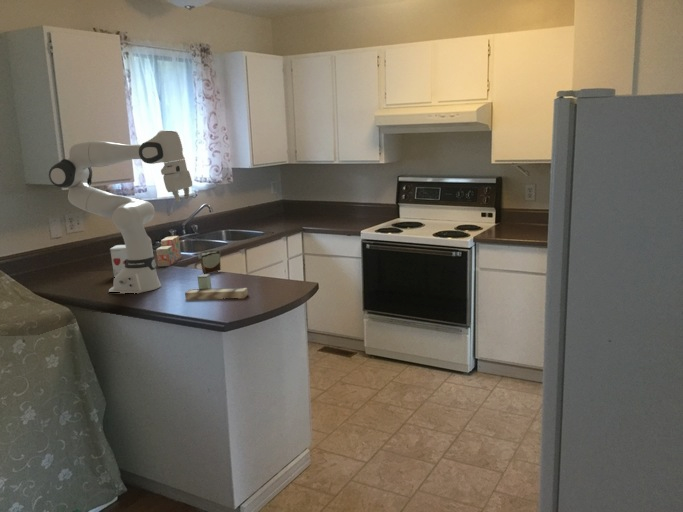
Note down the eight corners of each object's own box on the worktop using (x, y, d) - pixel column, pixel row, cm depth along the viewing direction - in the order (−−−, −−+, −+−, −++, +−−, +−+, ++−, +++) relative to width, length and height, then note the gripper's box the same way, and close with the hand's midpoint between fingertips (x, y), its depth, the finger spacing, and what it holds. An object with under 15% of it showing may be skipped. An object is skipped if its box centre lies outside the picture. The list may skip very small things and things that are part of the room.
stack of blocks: (169, 266, 314) (166, 243, 312) (157, 266, 314) (154, 243, 312) (181, 257, 335) (178, 235, 332) (170, 257, 335) (167, 236, 333)
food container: (215, 268, 302) (212, 248, 300) (223, 269, 298) (220, 249, 296) (195, 273, 292) (192, 253, 290) (202, 275, 289) (200, 254, 286)
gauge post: (199, 295, 253) (197, 276, 252) (203, 292, 257) (200, 274, 256) (208, 294, 253) (206, 276, 251) (212, 292, 257) (209, 274, 255)
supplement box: (113, 278, 294) (109, 248, 291) (119, 274, 303) (115, 245, 300) (132, 277, 294) (128, 247, 291) (137, 272, 303) (133, 243, 300)
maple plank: (185, 299, 248) (184, 292, 247) (190, 296, 253) (189, 289, 252) (244, 298, 244) (243, 290, 243) (247, 294, 249) (247, 287, 248)
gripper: (178, 167, 267) (185, 197, 270) (158, 171, 247) (166, 204, 250) (192, 164, 266) (198, 195, 269) (173, 168, 246) (180, 202, 249)
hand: (183, 199), depth 259 cm, fingers open, 8 cm apart
